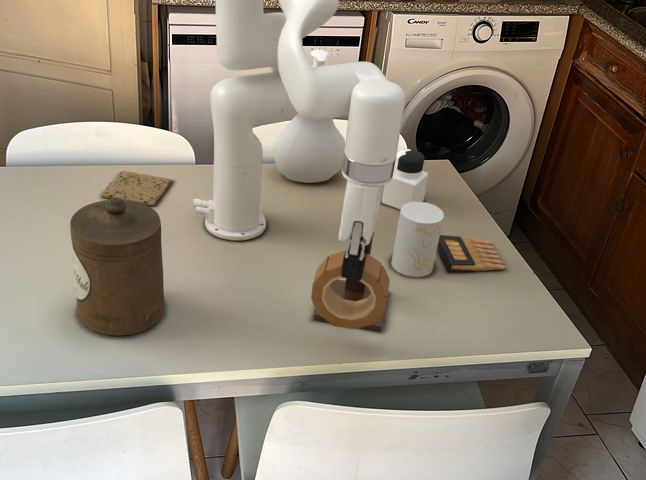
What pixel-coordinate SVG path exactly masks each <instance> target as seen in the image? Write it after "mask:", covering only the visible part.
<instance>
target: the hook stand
mask: <svg viewBox="0 0 646 480" xmlns="http://www.w3.org/2000/svg"><path fill="white" fill-rule="evenodd" d="M374 235H375V232H374V231H373V233H372V236H371V240H370V243H369V244H368V249H367V254H369V255H370V256H371V253H372V247H373V241H374ZM330 286H331V288H332V290H333V292H334V293H335V294H337V295H338V296H340V297H341V298H342V299H344V300H350V301H359V300H363V299H366V298H368V297H369V296H370V295H371V292H370V290H369V287H368V286H366V285H365V284H363V283H362V282H360V281H359V280H353V279H348V278H345V280H342V279H338V280H335V281H333V282H332V283H331V284H330ZM320 315H321V314H318V312H317V310H316V308H315V310H314V313H313V321H318V322H324V323H329V324H331V323H330V322H329V321H327V320H326V319H324V318H323V317H321V316H320ZM384 315H385V312H384V313H383V314H382V315H381V316H380V317H379V318H378V319H377V320H376V321H375V322H374V323H371V325H368V326H364V327H360V328H359V329H363V330H368V331H375V332H379V333H381V332H382V327H383V322H384ZM334 325H336V323H335V324H334Z"/></svg>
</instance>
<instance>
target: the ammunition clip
mask: <svg viewBox="0 0 646 480" xmlns="http://www.w3.org/2000/svg"><path fill="white" fill-rule="evenodd" d="M493 244H494V243H493V242H492V241H489V240H484V239H477V238H471V237H470V238H469V237H461V236H460V235H459V236H457V235H446V234H440V237H439V242H438V246H437V250H438V253H439V255H440V256H441V258H442V261H443V263H444V265H445V267H446V268H447V271H448V272H464V273H469V272H470V273H471V272H474V271H483V272H486V271H500V270H505V269H507V268H508V267H507V266H506V265H503V264H504V263H505V261H503V260H501V259H502V257H501V256H499V255H498V254H499V252H498V251H496V250H495V249H496V246H493Z"/></svg>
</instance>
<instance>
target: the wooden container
mask: <svg viewBox="0 0 646 480" xmlns="http://www.w3.org/2000/svg"><path fill="white" fill-rule="evenodd" d="M69 229H70V239H71V251H72V261H73V276H74V287H75V297H76V305H77V314H78V318H79V320H80V321H81V323H82V324H83V325H84V327H85V326H86V328H87V329H90V330H92V331H94V332H96V333H97V334H102V335H107V336H116V337H117V336H120V337H121V336H128V335H129V336H130V335H134V334H139V333H141V332H145V331H146V330H148V329H150V328H152V327H153V326H155V325H156V324H157V323H158V322H159V321H160V319H161V318H162V317H163V314H164V311H165V294H164V293H165V288H164V263H163V248H162V247H163V245H162V221H161V217H160V215H159V213H158V212H157V211H156V210H155V209H154V208H152V206H150V205H149V206H148V205H145V204H142V203H139V202H135V201H130V200H122V199H119V198H116V197H114V198H108V199H105V200H99V201H95V202H92V203H89V204H86V205H84V206H82V207H80V208H79V209H78V210H76V211H75V212H74V213H73V214H72V216H71V219H70V223H69Z"/></svg>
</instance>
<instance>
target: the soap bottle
mask: <svg viewBox="0 0 646 480" xmlns="http://www.w3.org/2000/svg"><path fill="white" fill-rule="evenodd" d="M310 55H311V57H313V63H312V64H313V65H311V67H312V68H313V67H320V66H325V63H326V61H327V59H328V57H329V52H328V51H326V50H324V49H314V50H311V51H310ZM345 142H346V138H345V137H344V136H343V135H342V133H341V132H340V131H339V129H338V128H337V126H336V125H335V122H334V118H330V119H324V120H316V121H312V120H308V119H305V118H303V117H302V116H301V115H299V113H297V115H296V116H295V117H294V118H293V119H291V120H290V122H289V123H288V124H287V125H286V126H285V128H283V130H281V131H280V133H279V134H278V135H277V136H276V140H275V143H274V146H273V149H272V153H273V159H274V163H275V166H276V168H277V169H278V170H279V171H280V173H281V174H282V175H283V176H284V177H285V178H286V179H288V180H290V181H293V182H297V183H298V182H299V183H307V184H309V183H311V184H312V183H321V182H326V181H329V180H330V179H331V178H333V176H335V175H336V174H337V173H338V172H339V171H340V170H342V167H343V158H344V150H345Z"/></svg>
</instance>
